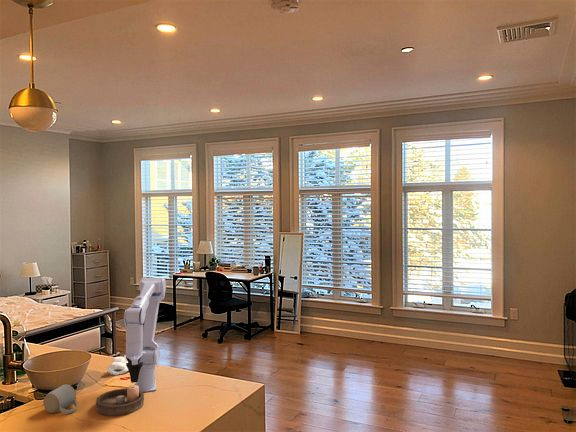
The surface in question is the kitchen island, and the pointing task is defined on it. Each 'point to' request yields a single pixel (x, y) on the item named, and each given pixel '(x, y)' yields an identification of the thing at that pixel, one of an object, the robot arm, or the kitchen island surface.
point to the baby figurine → (118, 366)
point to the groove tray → (117, 403)
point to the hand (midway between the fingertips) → (134, 378)
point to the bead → (132, 393)
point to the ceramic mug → (60, 399)
